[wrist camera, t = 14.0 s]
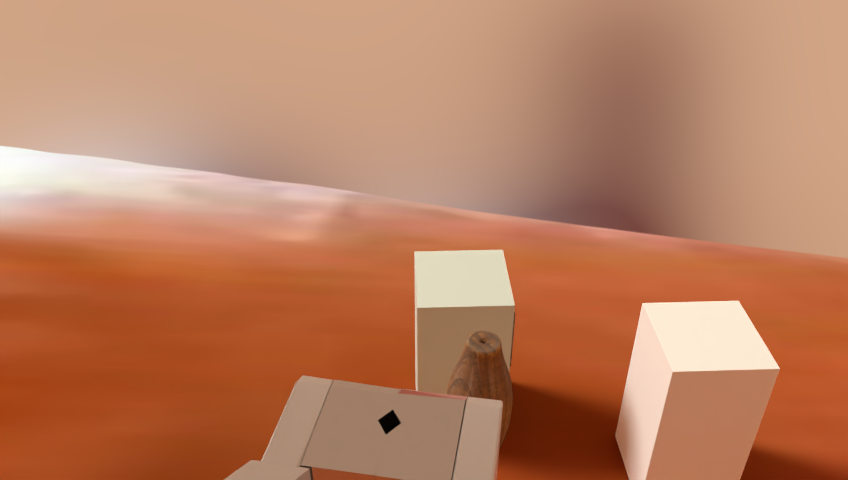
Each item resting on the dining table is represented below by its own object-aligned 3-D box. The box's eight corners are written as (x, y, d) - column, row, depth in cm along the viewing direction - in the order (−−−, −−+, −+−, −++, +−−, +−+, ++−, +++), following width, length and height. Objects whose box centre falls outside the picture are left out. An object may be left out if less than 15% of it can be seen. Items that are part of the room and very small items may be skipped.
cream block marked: (638, 508, 40) (672, 371, 35) (615, 435, 44) (642, 303, 39) (736, 505, 40) (786, 368, 35) (704, 433, 45) (744, 300, 39)
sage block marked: (418, 440, 44) (417, 307, 38) (415, 379, 48) (414, 251, 43) (508, 438, 44) (520, 305, 39) (498, 377, 48) (507, 249, 43)
